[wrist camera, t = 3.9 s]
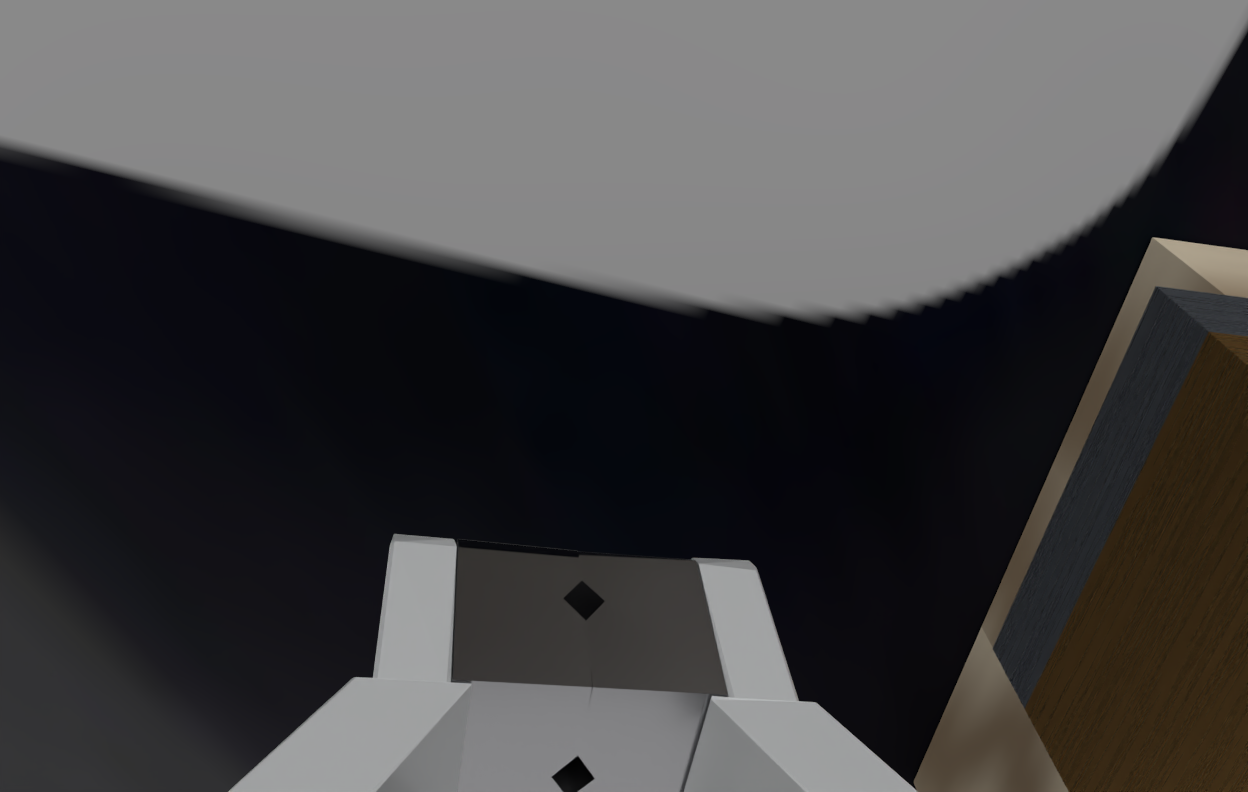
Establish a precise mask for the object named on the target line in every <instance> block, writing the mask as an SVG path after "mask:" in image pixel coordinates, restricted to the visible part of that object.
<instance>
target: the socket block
mask: <svg viewBox="0 0 1248 792" xmlns="http://www.w3.org/2000/svg"><path fill="white" fill-rule="evenodd" d="M1156 286H1159V287H1167V288H1175V289H1183V290H1190V291H1198V292H1206V293H1214V294H1221V295H1229V296H1237V297H1245V298H1248V250H1242V249H1235V248H1227V247H1220V246H1213V245H1205V244H1198V243H1191V242H1183V241H1176V240H1169V239H1161V238H1154V237H1152V240H1151V242H1150V244H1149V246H1148V249H1147V251H1146V253H1145V256H1144V258H1143V260H1142V262H1141V265H1140V267H1139V269H1138V271H1137V274H1136V276H1135V278H1134V281H1133V283H1132V285H1131V287H1130V290H1129V292H1128V294H1127V297H1126V299H1125V301H1124V303H1123V306H1122V308H1121V310H1120V312H1119V315H1118V317H1117V319H1116V322H1115V324H1114V326H1113V328H1112V331H1111V333H1110V335H1109V338H1108V340H1107V342H1106V344H1105V347H1104V349H1103V351H1102V353H1101V356H1100V358H1099V360H1098V363H1097V365H1096V367H1095V369H1094V372H1093V374H1092V376H1091V379H1090V381H1089V383H1088V385H1087V388H1086V390H1085V392H1084V394H1083V397H1082V399H1081V401H1080V404H1079V406H1078V408H1077V410H1076V413H1075V415H1074V417H1073V420H1072V422H1071V424H1070V426H1069V429H1068V431H1067V433H1066V435H1065V438H1064V440H1063V442H1062V445H1061V447H1060V449H1059V451H1058V454H1057V456H1056V458H1055V461H1054V463H1053V465H1052V467H1051V470H1050V472H1049V474H1048V476H1047V479H1046V481H1045V483H1044V486H1043V488H1042V490H1041V492H1040V495H1039V497H1038V499H1037V502H1036V504H1035V506H1034V508H1033V511H1032V513H1031V515H1030V517H1029V520H1028V522H1027V524H1026V527H1025V529H1024V531H1023V533H1022V536H1021V538H1020V540H1019V543H1018V545H1017V547H1016V549H1015V552H1014V554H1013V556H1012V558H1011V561H1010V563H1009V565H1008V568H1007V570H1006V572H1005V574H1004V577H1003V579H1002V581H1001V584H1000V586H999V588H998V590H997V593H996V595H995V597H994V599H993V602H992V604H991V606H990V609H989V611H988V613H987V615H986V618H985V620H984V622H983V625H982V627H981V629H980V631H979V634H978V636H977V638H976V640H975V643H974V645H973V647H972V650H971V652H970V654H969V656H968V659H967V661H966V663H965V666H964V668H963V670H962V672H961V675H960V677H959V679H958V681H957V684H956V686H955V688H954V691H953V693H952V695H951V697H950V700H949V702H948V704H947V707H946V709H945V711H944V713H943V716H942V718H941V720H940V722H939V725H938V727H937V729H936V732H935V734H934V736H933V738H932V741H931V743H930V745H929V748H928V750H927V752H926V754H925V757H924V759H923V761H922V763H921V766H920V768H919V770H918V773H917V775H916V777H915V779H914V785H915V787H916V790H917V791H918V792H1069V791H1068V790H1067V788H1066V786H1065V784H1064V782H1063V780H1062V778H1061V776H1060V774H1059V773H1058V771H1057V769H1056V767H1055V765H1054V763H1053V761H1052V759H1051V758H1050V756H1049V754H1048V752H1047V750H1046V748H1045V746H1044V744H1043V743H1042V741H1041V739H1040V737H1039V735H1038V733H1037V731H1036V729H1035V728H1034V726H1033V724H1032V722H1031V720H1030V718H1029V716H1028V714H1027V712H1026V711H1025V709H1024V707H1023V705H1022V703H1021V701H1020V699H1019V697H1018V696H1017V694H1016V692H1015V690H1014V688H1013V686H1012V684H1011V682H1010V681H1009V679H1008V677H1007V675H1006V673H1005V671H1004V669H1003V667H1002V666H1001V664H1000V662H999V660H998V658H997V656H996V654H995V652H994V650H993V649H992V648H993V646H994V644H995V642H996V639H997V637H998V635H999V633H1000V630H1001V628H1002V626H1003V624H1004V622H1005V619H1006V617H1007V615H1008V613H1009V610H1010V608H1011V606H1012V604H1013V602H1014V599H1015V597H1016V595H1017V593H1018V591H1019V588H1020V586H1021V584H1022V582H1023V579H1024V577H1025V575H1026V573H1027V571H1028V568H1029V566H1030V564H1031V562H1032V559H1033V557H1034V555H1035V553H1036V551H1037V548H1038V546H1039V544H1040V542H1041V540H1042V537H1043V535H1044V533H1045V531H1046V528H1047V526H1048V524H1049V522H1050V520H1051V517H1052V515H1053V513H1054V511H1055V509H1056V506H1057V504H1058V502H1059V500H1060V497H1061V495H1062V493H1063V491H1064V489H1065V486H1066V484H1067V482H1068V480H1069V477H1070V475H1071V473H1072V471H1073V469H1074V466H1075V464H1076V462H1077V460H1078V458H1079V455H1080V453H1081V451H1082V449H1083V446H1084V444H1085V442H1086V440H1087V438H1088V435H1089V433H1090V431H1091V429H1092V426H1093V424H1094V422H1095V420H1096V418H1097V415H1098V413H1099V411H1100V409H1101V407H1102V404H1103V402H1104V400H1105V398H1106V395H1107V393H1108V391H1109V389H1110V387H1111V384H1112V382H1113V380H1114V378H1115V376H1116V373H1117V371H1118V369H1119V367H1120V364H1121V362H1122V360H1123V358H1124V356H1125V353H1126V351H1127V349H1128V347H1129V344H1130V342H1131V340H1132V338H1133V336H1134V333H1135V331H1136V329H1137V327H1138V325H1139V322H1140V320H1141V318H1142V316H1143V313H1144V311H1145V309H1146V307H1147V305H1148V302H1149V300H1150V298H1151V296H1152V293H1153V291H1154V289H1155V287H1156Z"/></svg>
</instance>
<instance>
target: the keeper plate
mask: <svg viewBox="0 0 1248 792" xmlns="http://www.w3.org/2000/svg"><path fill="white" fill-rule="evenodd" d="M992 649H993V650H994V652H995V654H996V656H997V658H998V660H999V662H1000V664H1001V666H1002V667H1003V669H1004V671H1005V673H1006V675H1007V677H1008V679H1009V681H1010V682H1011V684H1012V686H1013V688H1014V690H1015V692H1016V694H1017V696H1018V697H1019V699H1020V701H1021V703H1022V705H1023V707H1024V709H1025V711H1026V712H1027V714H1028V716H1029V718H1030V720H1031V722H1032V724H1033V726H1034V728H1035V729H1036V731H1037V733H1038V735H1039V737H1040V739H1041V741H1042V743H1043V744H1044V746H1045V748H1046V750H1047V752H1048V754H1049V756H1050V758H1051V759H1052V761H1053V763H1054V765H1055V767H1056V769H1057V771H1058V773H1059V774H1060V776H1061V778H1062V780H1063V782H1064V784H1065V786H1066V788H1067V790H1068V791H1069V792H1248V298H1245V297H1237V296H1229V295H1221V294H1214V293H1206V292H1198V291H1190V290H1183V289H1175V288H1167V287H1159V286H1156V287H1155V289H1154V291H1153V293H1152V296H1151V298H1150V300H1149V302H1148V305H1147V307H1146V309H1145V311H1144V313H1143V316H1142V318H1141V320H1140V322H1139V325H1138V327H1137V329H1136V331H1135V333H1134V336H1133V338H1132V340H1131V342H1130V344H1129V347H1128V349H1127V351H1126V353H1125V356H1124V358H1123V360H1122V362H1121V364H1120V367H1119V369H1118V371H1117V373H1116V376H1115V378H1114V380H1113V382H1112V384H1111V387H1110V389H1109V391H1108V393H1107V395H1106V398H1105V400H1104V402H1103V404H1102V407H1101V409H1100V411H1099V413H1098V415H1097V418H1096V420H1095V422H1094V424H1093V426H1092V429H1091V431H1090V433H1089V435H1088V438H1087V440H1086V442H1085V444H1084V446H1083V449H1082V451H1081V453H1080V455H1079V458H1078V460H1077V462H1076V464H1075V466H1074V469H1073V471H1072V473H1071V475H1070V477H1069V480H1068V482H1067V484H1066V486H1065V489H1064V491H1063V493H1062V495H1061V497H1060V500H1059V502H1058V504H1057V506H1056V509H1055V511H1054V513H1053V515H1052V517H1051V520H1050V522H1049V524H1048V526H1047V528H1046V531H1045V533H1044V535H1043V537H1042V540H1041V542H1040V544H1039V546H1038V548H1037V551H1036V553H1035V555H1034V557H1033V559H1032V562H1031V564H1030V566H1029V568H1028V571H1027V573H1026V575H1025V577H1024V579H1023V582H1022V584H1021V586H1020V588H1019V591H1018V593H1017V595H1016V597H1015V599H1014V602H1013V604H1012V606H1011V608H1010V610H1009V613H1008V615H1007V617H1006V619H1005V622H1004V624H1003V626H1002V628H1001V630H1000V633H999V635H998V637H997V639H996V642H995V644H994V646H993V648H992Z"/></svg>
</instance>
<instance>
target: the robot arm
mask: <svg viewBox="0 0 1248 792" xmlns="http://www.w3.org/2000/svg"><path fill="white" fill-rule="evenodd" d="M228 792H918V791H917V790H915V789H914V788H913V787H912V786H911V785H910V784H909V783H907V782H906V781H905V780H904V779H903V778H902V777H901V776H899V775H898V774H897V773H896V772H895V771H894V770H893V769H891V768H890V767H889V766H888V765H887V764H886V763H885V762H883V761H882V760H881V759H880V758H879V757H878V756H877V755H876V754H874V753H873V752H872V751H871V750H870V749H869V748H868V747H866V746H865V745H864V744H863V743H862V742H861V741H860V740H858V739H857V738H856V737H855V736H854V735H853V734H852V733H850V732H849V731H848V730H847V729H846V728H845V727H844V726H842V725H841V724H840V723H839V722H838V721H837V720H836V719H834V718H833V717H832V716H831V715H830V714H829V713H828V712H827V711H825V710H824V709H823V708H822V707H821V706H820V705H819V704H817V703H816V702H801V701H799V700H798V697H797V694H796V691H795V687H794V684H793V681H792V678H791V675H790V672H789V668H788V665H787V662H786V659H785V656H784V653H783V649H782V646H781V643H780V640H779V637H778V634H777V630H776V627H775V624H774V621H773V618H772V615H771V611H770V608H769V605H768V602H767V599H766V596H765V592H764V589H763V586H762V583H761V580H760V577H759V574H758V570H757V568H756V567H755V566H754V565H753V564H752V563H751V562H750V561H747V560H727V559H707V558H692V559H691V560H688V559H676V558H662V557H648V556H634V555H620V554H606V553H592V552H578V551H574V550H564V549H554V548H544V547H534V546H523V545H513V544H503V543H493V542H482V541H472V540H462V539H458V540H457V545H456V543H455V541H454V539H446V538H434V537H423V536H411V535H400V534H394V536H393V538H392V541H391V544H390V549H389V557H388V565H387V573H386V580H385V588H384V596H383V604H382V611H381V619H380V627H379V635H378V643H377V650H376V658H375V666H374V674H373V678H359V677H354V678H352V679H351V680H350V681H349V682H348V683H347V684H346V685H345V686H343V687H342V688H341V689H340V690H339V691H338V692H337V693H336V694H335V695H334V696H332V697H331V698H330V699H329V700H328V701H327V702H326V703H325V704H324V705H323V706H321V707H320V708H319V709H318V710H317V711H316V712H315V713H314V714H313V715H312V716H311V717H309V718H308V719H307V720H306V721H305V722H304V723H303V724H302V725H301V726H300V727H298V728H297V729H296V730H295V731H294V732H293V733H292V734H291V735H290V736H289V737H287V738H286V739H285V740H284V741H283V742H282V743H281V744H280V745H279V746H278V747H276V748H275V749H274V750H273V751H272V752H271V753H270V754H269V755H268V756H267V757H266V758H264V759H263V760H262V761H261V762H260V763H259V764H258V765H257V766H256V767H255V768H253V769H252V770H251V771H250V772H249V773H248V774H247V775H246V776H245V777H244V778H242V779H241V780H240V781H239V782H238V783H237V784H236V785H235V786H234V787H233V788H232V789H230V790H229V791H228Z"/></svg>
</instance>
